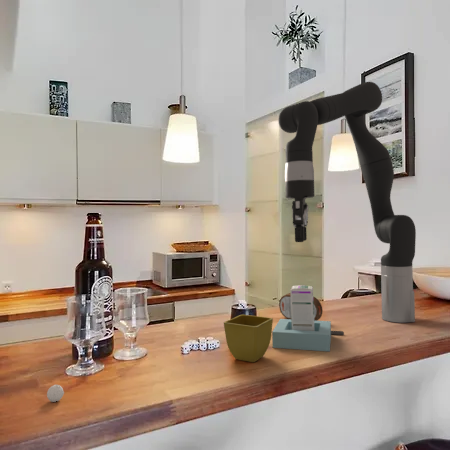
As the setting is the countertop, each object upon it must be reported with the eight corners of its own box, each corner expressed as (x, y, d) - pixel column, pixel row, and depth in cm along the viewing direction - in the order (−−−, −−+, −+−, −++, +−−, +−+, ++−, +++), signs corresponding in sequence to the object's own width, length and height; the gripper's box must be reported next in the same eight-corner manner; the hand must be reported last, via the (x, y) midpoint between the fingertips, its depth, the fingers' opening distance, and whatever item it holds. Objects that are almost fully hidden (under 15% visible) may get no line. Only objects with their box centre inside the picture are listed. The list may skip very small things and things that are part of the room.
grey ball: (45, 400, 73) (45, 384, 73) (62, 396, 74) (62, 380, 74) (49, 406, 70) (48, 389, 70) (66, 401, 72) (66, 385, 72)
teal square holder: (331, 335, 110) (330, 321, 110) (329, 351, 97) (329, 335, 97) (280, 332, 114) (280, 318, 114) (272, 347, 101) (272, 331, 101)
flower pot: (257, 367, 87) (256, 326, 87) (223, 360, 92) (222, 321, 92) (274, 355, 95) (273, 317, 95) (242, 350, 99) (241, 314, 99)
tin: (323, 323, 124) (322, 296, 124) (318, 325, 122) (317, 297, 122) (283, 316, 135) (282, 291, 135) (277, 318, 132) (277, 292, 132)
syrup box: (314, 345, 102) (313, 288, 102) (291, 344, 103) (290, 288, 103) (314, 339, 108) (313, 285, 107) (292, 338, 109) (291, 284, 109)
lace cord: (344, 334, 111) (344, 330, 111) (344, 335, 110) (344, 331, 110) (276, 330, 117) (276, 327, 117) (275, 331, 116) (275, 328, 116)
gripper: (312, 176, 97) (314, 242, 98) (315, 181, 111) (317, 240, 111) (281, 178, 100) (283, 243, 100) (288, 183, 113) (289, 240, 113)
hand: (301, 241), depth 105 cm, fingers open, 8 cm apart
